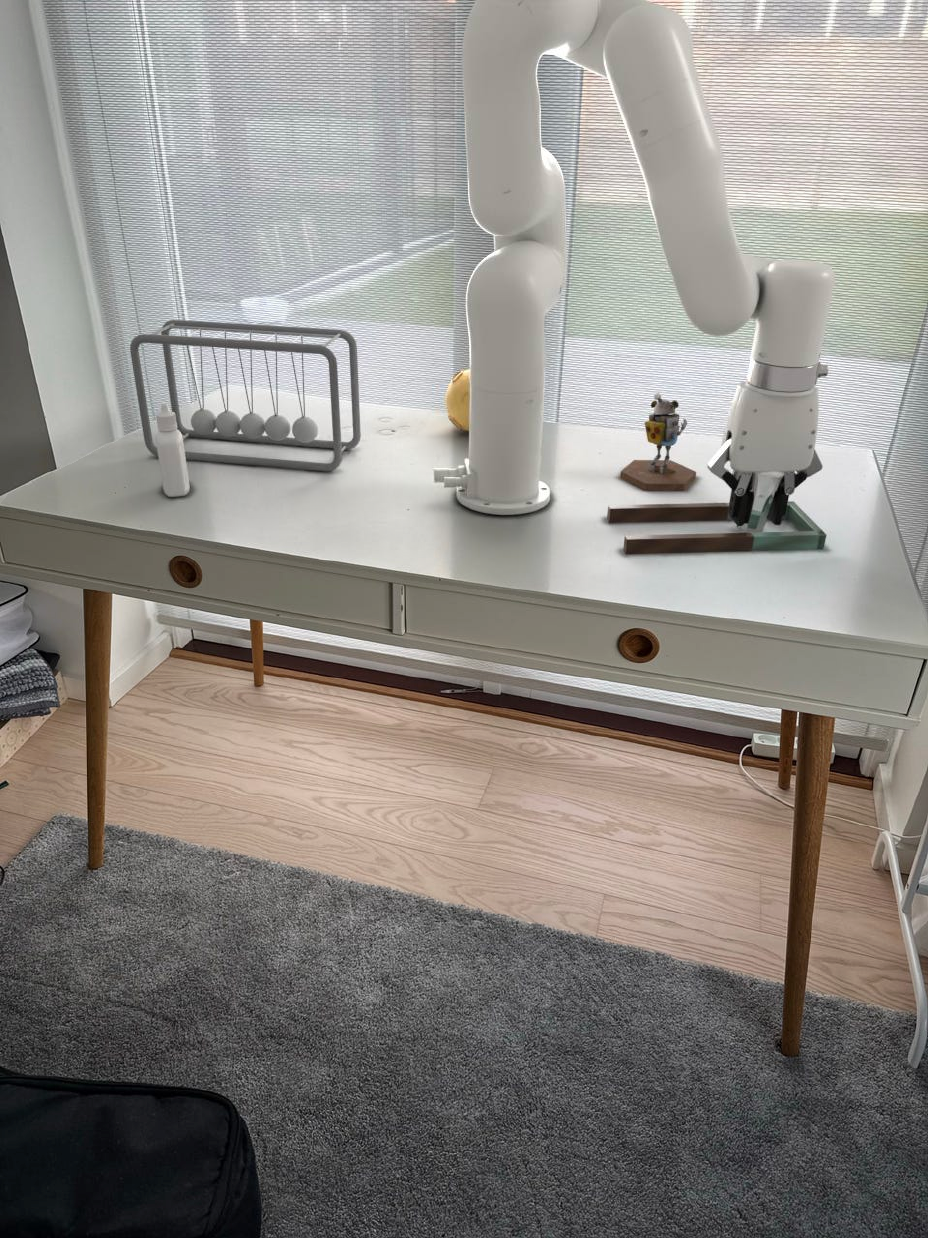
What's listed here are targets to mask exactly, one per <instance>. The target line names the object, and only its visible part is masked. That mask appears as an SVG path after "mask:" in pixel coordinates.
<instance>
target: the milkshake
mask: <svg viewBox="0 0 928 1238" xmlns="http://www.w3.org/2000/svg"><path fill="white" fill-rule="evenodd" d="M784 474H785V473H784V472H778V471H766V472H753V473H752V475H751V478H750V481H749V483H748V486H747V489H746V495H747V496H748V504H747V510H746V516H745V521H744V525H742V526H737V525H736V524H735V526H736V528H737V530H738V531H739V532H741V533H749V532H751V533H753V532H764V529H765V527H766V524H767V522H768V520H769V519H768V516H769V513H770V511H771V508H772V505H773V503H774V500H775V497H776V495H777V492H778V490H779V488H780V485H781V483H782V480H783V478H784Z"/></svg>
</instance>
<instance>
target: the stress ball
mask: <svg viewBox="0 0 928 1238" xmlns="http://www.w3.org/2000/svg"><path fill="white" fill-rule="evenodd" d="M445 408H446V411H447V414H448V415H447V418H448V420H449V421H450V422H451V423H452V425H454V426H455V427H456V428H457V429H458V430H460V431H462V430H465V431H467V432H469V414H470V368H468V369H465V370H464V369H462V370H460V371H458V372H457V373H456V374H454V376H453V377H452V378H451V381H450V383H449V385H448V386H447V390H446V393H445Z"/></svg>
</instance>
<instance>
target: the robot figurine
mask: <svg viewBox="0 0 928 1238" xmlns="http://www.w3.org/2000/svg"><path fill="white" fill-rule="evenodd" d="M653 399H654V400H653V401H652V402H651V404H650V408H653V413H652V414H649V415H648V420H647V421H645V422H644V427H645V433H646V439H647V442H648V443H651V444H653V445H656V451H657V454H656V455H655V457H654V458H653V459H633V460H632V461H631V462H630V463H629V464H628V465H626V466H625V467H624V468H623V469H622V470H621V471H620V477H619V478H620V479H622V480H623V481H625V482H627V483H629V484H632V485H633V486H636V487H637V488H640V489H642V490H643V491H677V492H678V491H680V492H681V491H685V490H686V489H687V488H688V487H689V486H690V485H691V484H692V483H693V482H694V481H695V479H696V477H697V471H696V470H693V469H691V468H688V467H687V466H684V465H683V464H680V463H678V462H675V461H674V460H670V458H671V457H670V450H671V448H672V446H675V445H676V443H677V441H678V437H679V436H681V434H682V433H683V431H684V430H685V429H686V428H687V426H688V421H687V419H685V418H683V422H680V415H679V414H678V413H676V409H678V408H679V405H680V404H679V402H678V401H677V400H672V401H670V400H668V399H662V394H661V392H655V393H653ZM679 423H680V424H679ZM680 425H681V426H680ZM663 447H664V448H665V451H666V455H665V456H664V459H661V458H662V455H661V450H662V448H663Z"/></svg>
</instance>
